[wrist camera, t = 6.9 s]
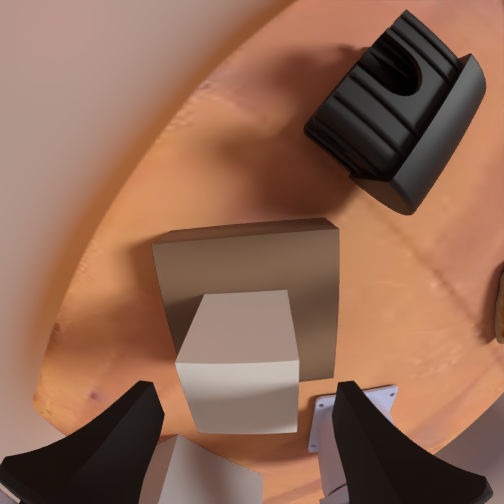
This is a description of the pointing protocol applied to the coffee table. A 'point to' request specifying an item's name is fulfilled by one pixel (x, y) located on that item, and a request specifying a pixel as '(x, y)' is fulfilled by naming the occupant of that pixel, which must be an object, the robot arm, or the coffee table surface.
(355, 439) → the robot arm
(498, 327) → the pastry
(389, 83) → the end cap
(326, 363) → the walnut base
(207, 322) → the white block
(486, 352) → the coffee table surface
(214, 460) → the three tier block tower
